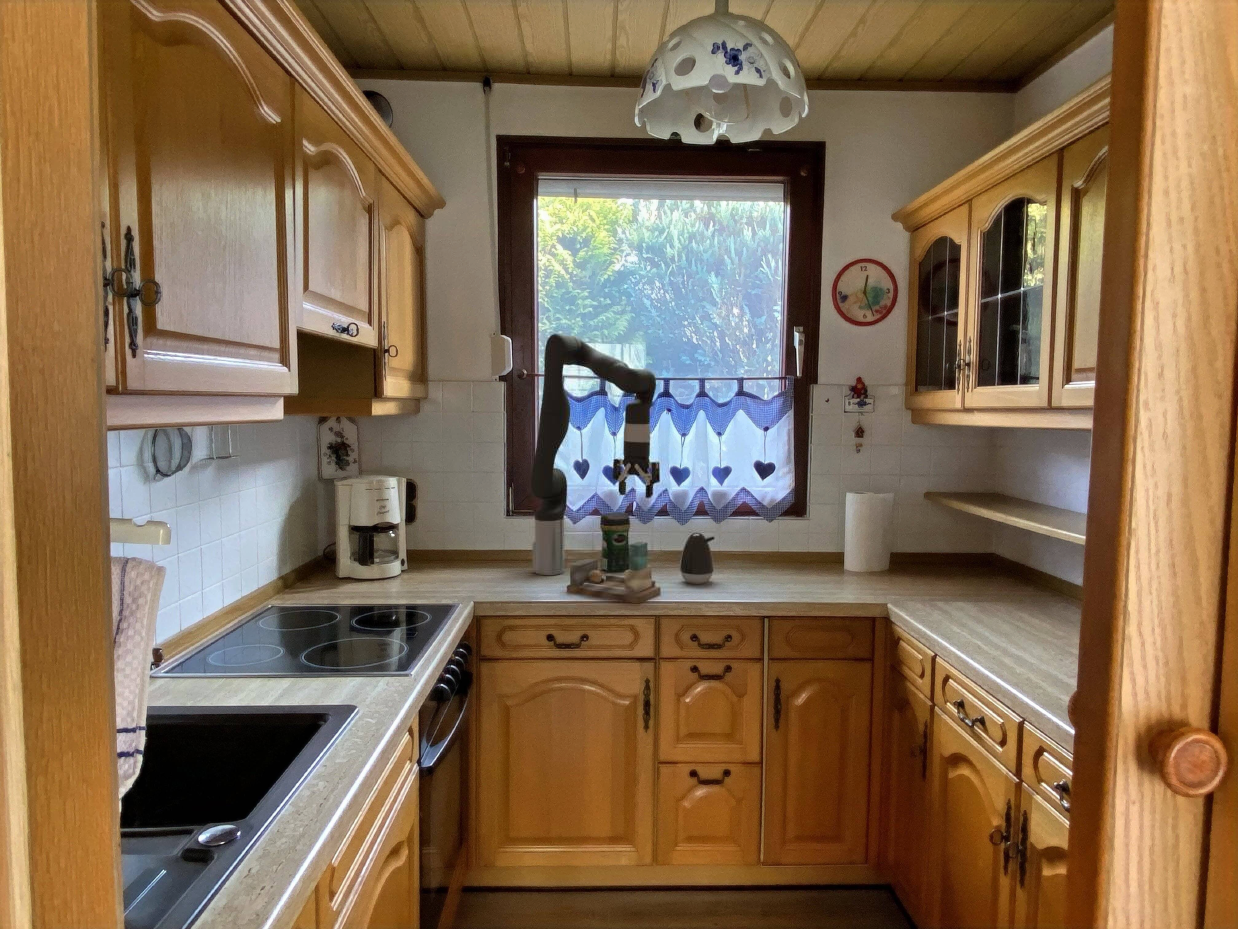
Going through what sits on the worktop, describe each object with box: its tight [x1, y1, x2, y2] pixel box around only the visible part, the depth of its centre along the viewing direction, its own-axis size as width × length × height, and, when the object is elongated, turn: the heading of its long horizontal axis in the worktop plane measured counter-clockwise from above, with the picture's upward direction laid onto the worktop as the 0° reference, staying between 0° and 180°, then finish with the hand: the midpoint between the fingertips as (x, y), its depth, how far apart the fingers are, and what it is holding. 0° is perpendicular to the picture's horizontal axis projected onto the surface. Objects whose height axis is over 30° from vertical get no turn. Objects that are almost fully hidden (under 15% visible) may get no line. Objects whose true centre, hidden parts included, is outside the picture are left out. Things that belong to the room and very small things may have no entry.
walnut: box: [588, 569, 603, 584], centre depth 223 cm, size 4×4×4 cm
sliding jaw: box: [624, 541, 653, 593], centre depth 216 cm, size 3×10×13 cm, turn 149°
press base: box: [566, 557, 662, 605], centre depth 220 cm, size 24×13×8 cm, turn 59°
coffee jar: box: [599, 512, 631, 573], centre depth 250 cm, size 10×8×19 cm
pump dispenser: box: [679, 532, 715, 585], centre depth 233 cm, size 10×10×15 cm
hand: (635, 496), depth 221 cm, fingers open, 8 cm apart
